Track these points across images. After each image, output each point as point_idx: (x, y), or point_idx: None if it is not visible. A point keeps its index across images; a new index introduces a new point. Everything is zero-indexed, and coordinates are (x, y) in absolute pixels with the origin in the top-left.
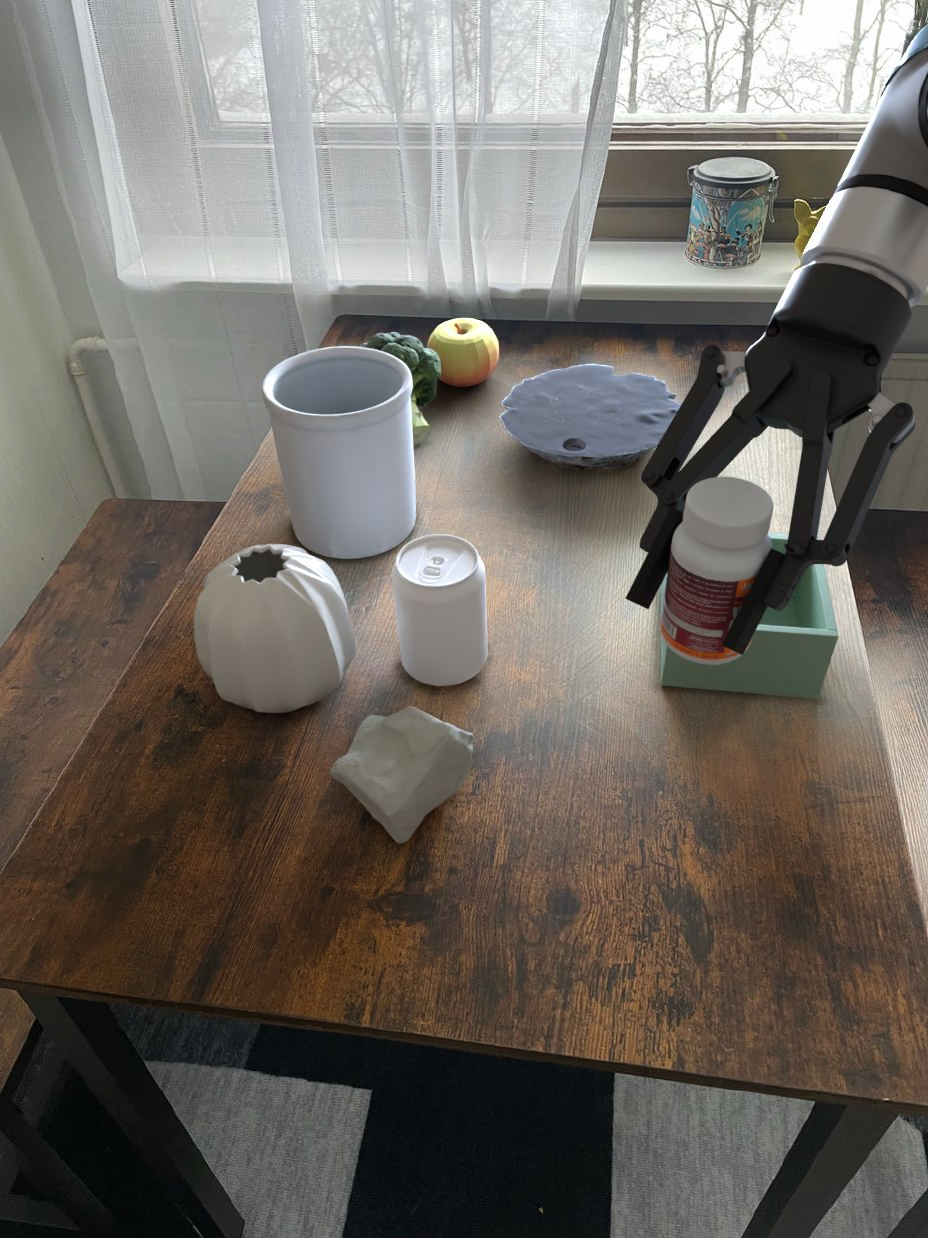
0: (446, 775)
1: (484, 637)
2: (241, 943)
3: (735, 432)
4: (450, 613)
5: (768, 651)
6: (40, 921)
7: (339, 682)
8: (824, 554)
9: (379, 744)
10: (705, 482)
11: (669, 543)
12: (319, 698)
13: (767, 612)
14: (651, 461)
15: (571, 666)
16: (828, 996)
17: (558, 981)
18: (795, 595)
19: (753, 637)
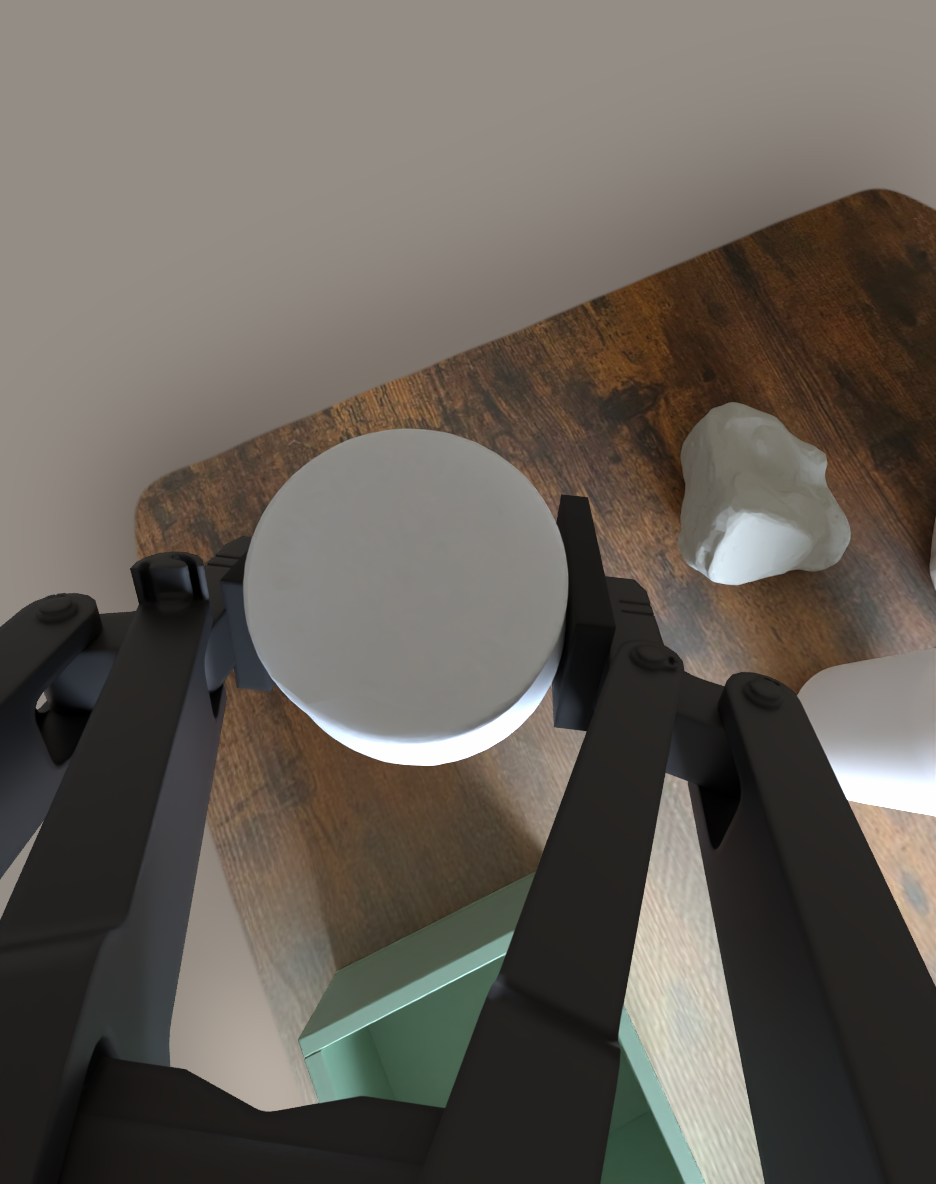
0: (697, 506)
1: (828, 750)
2: (734, 296)
3: (534, 930)
4: (903, 672)
5: (411, 964)
6: (907, 220)
7: (932, 569)
8: (85, 600)
9: (800, 490)
10: (534, 639)
11: None
12: (932, 555)
13: None
14: (804, 736)
15: (686, 825)
16: (221, 535)
17: (456, 416)
18: None
19: (437, 961)
